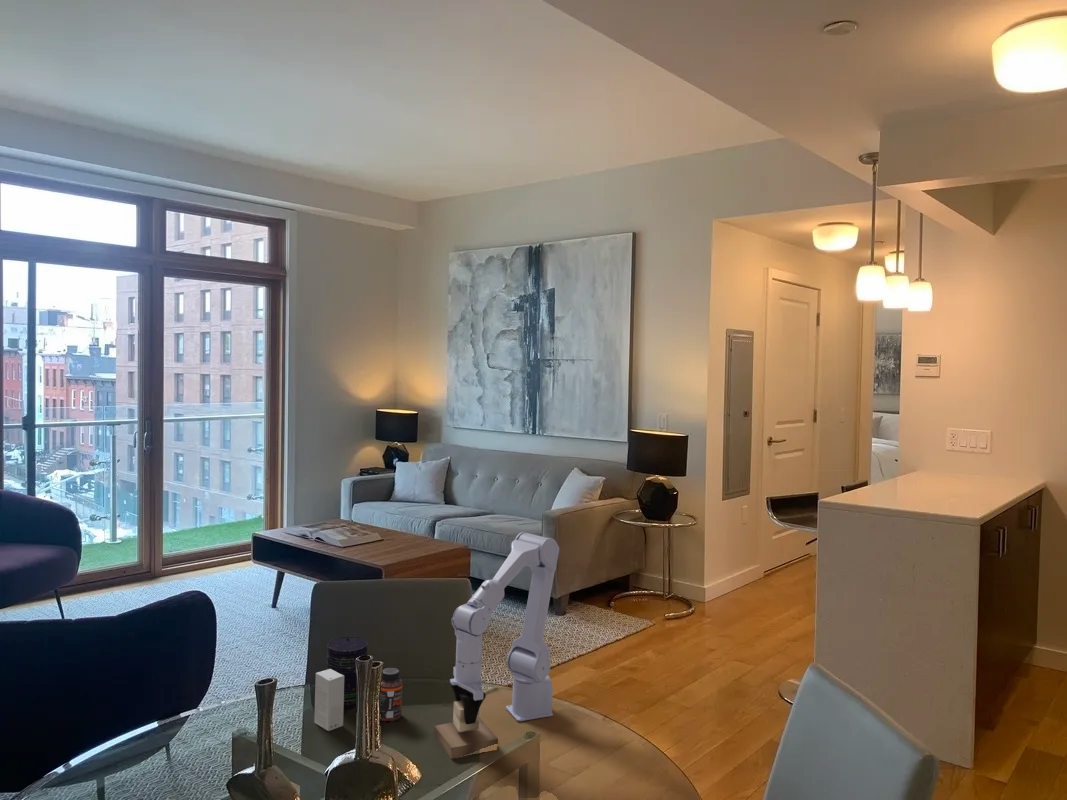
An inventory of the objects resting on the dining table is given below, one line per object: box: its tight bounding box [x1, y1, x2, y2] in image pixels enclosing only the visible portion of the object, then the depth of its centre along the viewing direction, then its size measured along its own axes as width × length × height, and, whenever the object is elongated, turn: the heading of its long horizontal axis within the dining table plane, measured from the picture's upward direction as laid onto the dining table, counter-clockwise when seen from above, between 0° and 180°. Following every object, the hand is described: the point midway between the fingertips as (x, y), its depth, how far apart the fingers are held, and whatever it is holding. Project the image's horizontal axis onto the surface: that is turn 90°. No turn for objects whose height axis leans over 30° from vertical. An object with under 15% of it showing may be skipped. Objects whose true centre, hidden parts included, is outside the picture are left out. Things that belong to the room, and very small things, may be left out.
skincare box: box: [313, 668, 344, 732], centre depth 184 cm, size 6×4×12 cm
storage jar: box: [326, 636, 369, 713], centre depth 196 cm, size 10×10×15 cm
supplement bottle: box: [380, 667, 403, 722], centre depth 189 cm, size 6×6×11 cm
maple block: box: [452, 700, 480, 732], centre depth 178 cm, size 4×4×5 cm
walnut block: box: [433, 717, 499, 760], centre depth 178 cm, size 11×11×3 cm
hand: (466, 718), depth 178 cm, fingers closed on maple block, 4 cm apart
